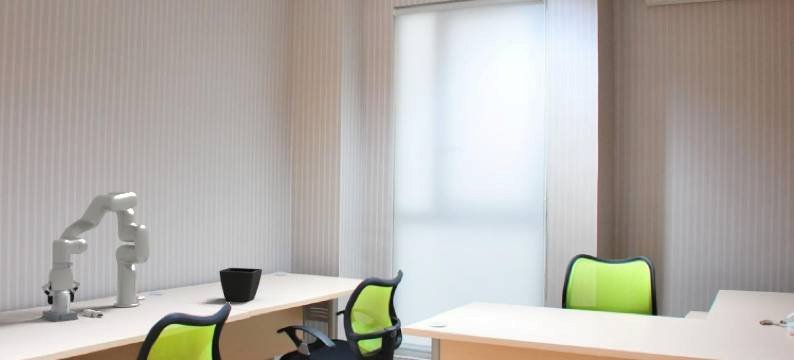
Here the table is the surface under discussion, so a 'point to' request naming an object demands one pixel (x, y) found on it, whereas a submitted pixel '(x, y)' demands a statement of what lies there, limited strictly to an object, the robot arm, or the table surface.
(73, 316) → the end holder
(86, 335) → the table surface
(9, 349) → the table surface
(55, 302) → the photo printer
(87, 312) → the white cube chain
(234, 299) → the flower pot
